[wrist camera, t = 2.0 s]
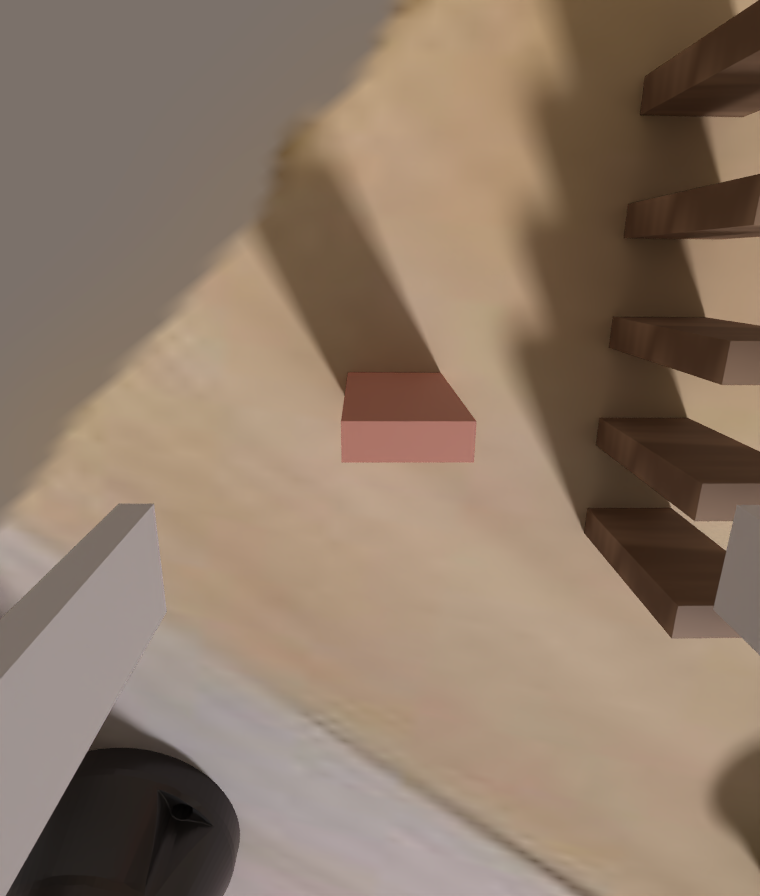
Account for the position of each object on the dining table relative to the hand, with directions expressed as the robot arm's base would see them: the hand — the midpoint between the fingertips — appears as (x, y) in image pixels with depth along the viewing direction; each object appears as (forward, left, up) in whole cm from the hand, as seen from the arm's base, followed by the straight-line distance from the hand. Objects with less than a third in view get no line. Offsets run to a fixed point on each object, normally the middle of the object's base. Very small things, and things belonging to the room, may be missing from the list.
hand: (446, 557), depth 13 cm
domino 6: (+14, -8, -19) cm, 25 cm away
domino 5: (+14, -2, -19) cm, 23 cm away
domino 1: (0, 0, -19) cm, 19 cm away
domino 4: (+14, +3, -19) cm, 23 cm away
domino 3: (+14, +9, -19) cm, 25 cm away
